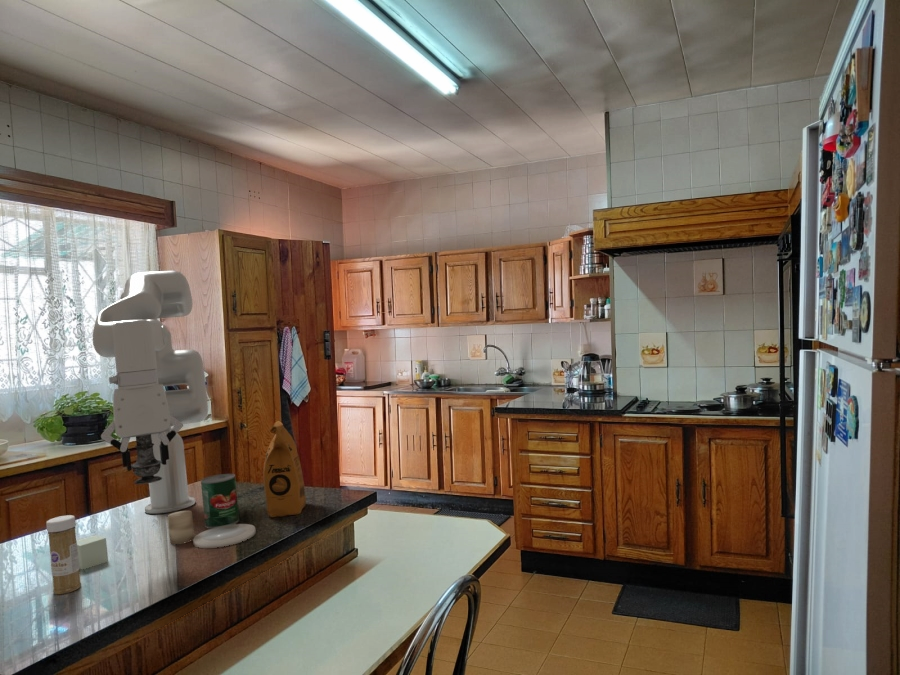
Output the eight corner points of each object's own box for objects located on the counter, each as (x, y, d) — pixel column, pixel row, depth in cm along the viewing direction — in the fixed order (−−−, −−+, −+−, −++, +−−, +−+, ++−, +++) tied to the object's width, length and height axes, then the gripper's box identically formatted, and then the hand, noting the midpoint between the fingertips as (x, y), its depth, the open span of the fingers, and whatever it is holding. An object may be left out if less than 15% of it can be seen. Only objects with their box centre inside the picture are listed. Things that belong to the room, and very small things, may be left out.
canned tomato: (225, 528, 148) (220, 482, 148) (197, 528, 150) (193, 482, 150) (246, 518, 155) (242, 473, 155) (219, 517, 158) (215, 473, 158)
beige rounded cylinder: (168, 540, 142) (166, 514, 142) (192, 535, 145) (189, 509, 145) (171, 546, 138) (169, 519, 138) (196, 540, 141) (193, 513, 141)
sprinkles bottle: (47, 596, 115) (40, 522, 115) (63, 585, 120) (56, 515, 120) (72, 594, 115) (65, 520, 115) (87, 583, 120) (80, 513, 119)
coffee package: (261, 520, 152) (252, 429, 152) (269, 506, 164) (261, 422, 164) (303, 515, 153) (294, 424, 153) (308, 501, 166) (300, 418, 165)
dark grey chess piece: (134, 480, 132) (128, 423, 132) (164, 475, 134) (159, 419, 134) (130, 486, 127) (124, 426, 127) (162, 481, 129) (156, 422, 129)
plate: (189, 538, 143) (188, 533, 143) (247, 524, 150) (247, 519, 150) (199, 553, 132) (198, 547, 132) (262, 537, 138) (261, 532, 138)
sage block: (72, 566, 131) (70, 542, 131) (98, 557, 135) (95, 534, 135) (82, 570, 128) (80, 545, 128) (108, 561, 132) (105, 538, 132)
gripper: (90, 386, 123) (99, 478, 123) (185, 375, 131) (194, 461, 132) (89, 384, 129) (98, 472, 129) (180, 374, 138) (188, 456, 138)
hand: (146, 466), depth 131 cm, fingers closed on dark grey chess piece, 5 cm apart
